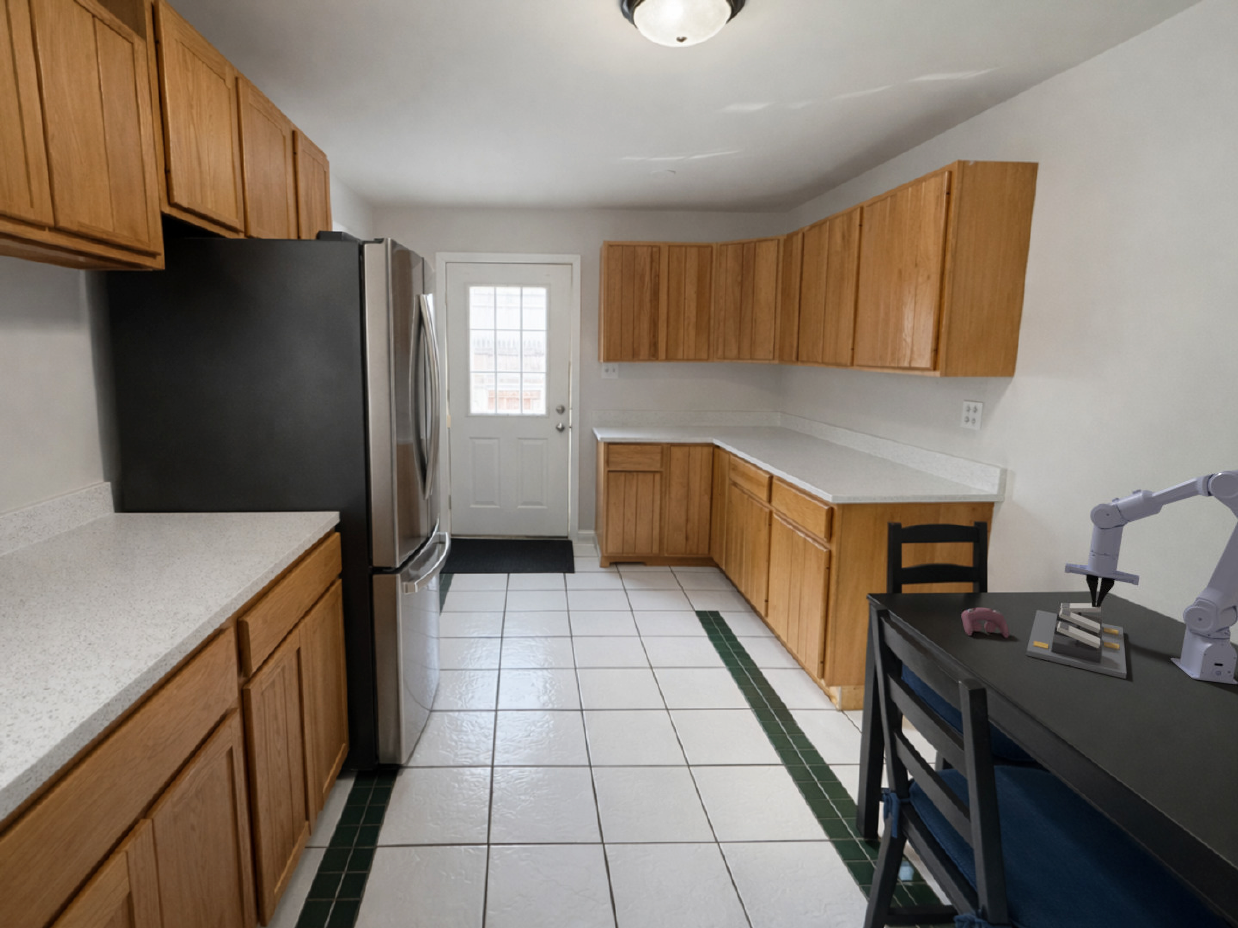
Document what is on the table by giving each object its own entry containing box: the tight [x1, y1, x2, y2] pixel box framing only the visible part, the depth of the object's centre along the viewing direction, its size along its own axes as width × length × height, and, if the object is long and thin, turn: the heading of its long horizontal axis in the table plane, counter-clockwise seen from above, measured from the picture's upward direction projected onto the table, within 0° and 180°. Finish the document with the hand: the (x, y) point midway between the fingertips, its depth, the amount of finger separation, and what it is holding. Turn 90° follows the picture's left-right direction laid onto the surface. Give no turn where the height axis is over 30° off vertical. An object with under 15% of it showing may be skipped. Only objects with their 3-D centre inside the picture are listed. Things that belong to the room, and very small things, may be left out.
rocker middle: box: [1059, 609, 1100, 633], centre depth 159 cm, size 8×4×1 cm, turn 56°
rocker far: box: [1060, 602, 1102, 613], centre depth 167 cm, size 8×4×1 cm, turn 55°
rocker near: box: [1057, 622, 1100, 648], centre depth 151 cm, size 8×4×1 cm, turn 56°
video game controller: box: [961, 607, 1010, 639], centre depth 164 cm, size 10×5×7 cm, turn 85°
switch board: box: [1025, 607, 1127, 680], centre depth 159 cm, size 18×30×5 cm, turn 145°
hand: (1095, 606), depth 165 cm, fingers closed, pressing on rocker far
